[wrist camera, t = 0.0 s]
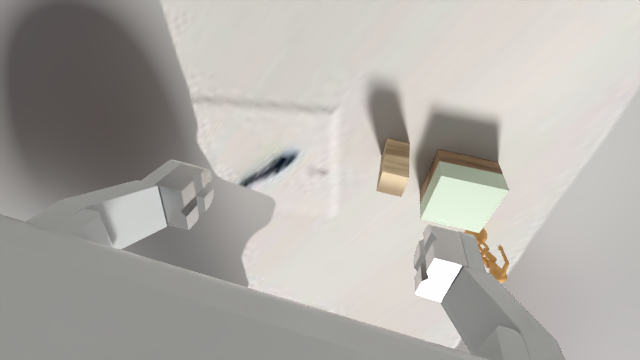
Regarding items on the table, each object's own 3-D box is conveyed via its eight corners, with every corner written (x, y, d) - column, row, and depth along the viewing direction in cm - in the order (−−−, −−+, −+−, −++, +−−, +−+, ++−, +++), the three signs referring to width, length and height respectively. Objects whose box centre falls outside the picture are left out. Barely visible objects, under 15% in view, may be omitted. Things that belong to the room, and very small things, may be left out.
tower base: (438, 148, 51) (440, 161, 48) (497, 161, 50) (503, 175, 47) (419, 190, 57) (420, 203, 54) (471, 202, 56) (475, 217, 53)
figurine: (475, 211, 57) (486, 262, 48) (505, 220, 56) (523, 273, 47) (454, 237, 62) (461, 287, 53) (482, 245, 62) (494, 297, 53)
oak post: (387, 138, 52) (382, 171, 44) (409, 143, 51) (408, 177, 44) (381, 156, 54) (376, 190, 47) (403, 161, 54) (401, 196, 46)
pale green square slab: (439, 161, 48) (441, 175, 45) (502, 174, 47) (509, 190, 44) (420, 203, 54) (420, 219, 51) (475, 216, 53) (479, 233, 50)
